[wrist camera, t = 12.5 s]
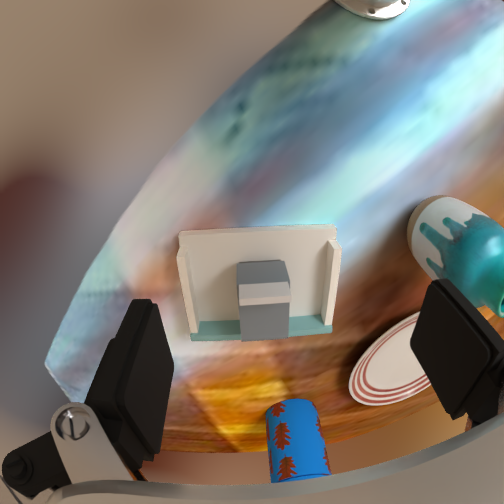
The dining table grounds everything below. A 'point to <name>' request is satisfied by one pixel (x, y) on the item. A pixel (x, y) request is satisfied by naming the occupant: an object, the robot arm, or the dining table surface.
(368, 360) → the dinner plate
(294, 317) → the loading dock
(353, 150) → the dining table surface
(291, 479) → the thermos
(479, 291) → the vase
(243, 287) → the lidded gray box
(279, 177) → the dining table surface
